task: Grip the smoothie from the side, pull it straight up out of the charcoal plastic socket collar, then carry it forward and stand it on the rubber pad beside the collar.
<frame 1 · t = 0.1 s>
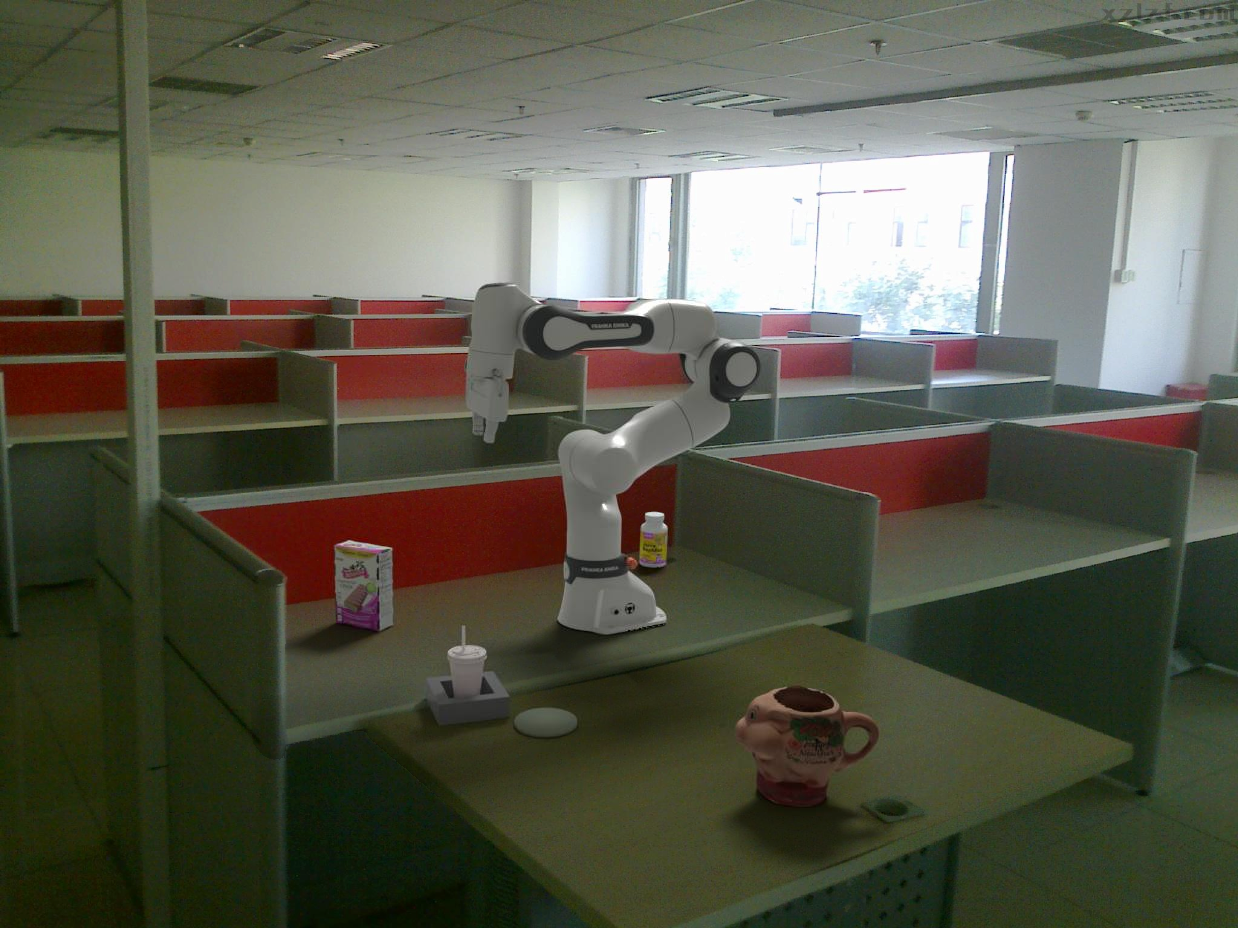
hand: (483, 438, 205), 39 cm above the table, tool pointing down, fingers open, 8 cm apart
cartoon character mug: (802, 792, 150), on the table
smoothie: (467, 708, 176), resting in socket collar
rubber pad: (545, 723, 170), on the table
socket collar: (467, 707, 176), on the table
candy bar box: (364, 625, 214), on the table
supplement bottle: (652, 565, 263), on the table
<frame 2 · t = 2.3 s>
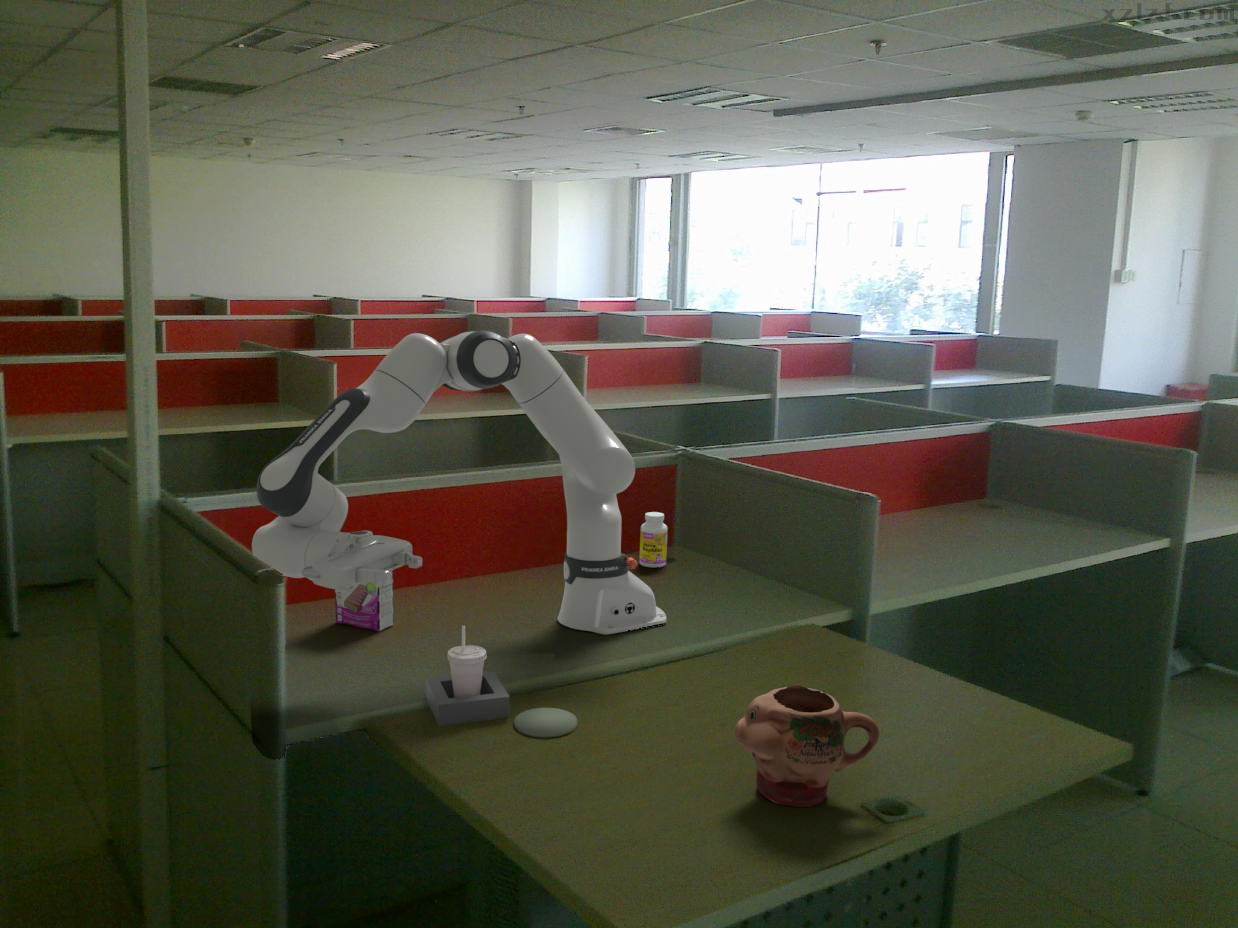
hand: (403, 569, 176), 22 cm above the table, tool horizontal, fingers open, 8 cm apart
nothing on the table moved.
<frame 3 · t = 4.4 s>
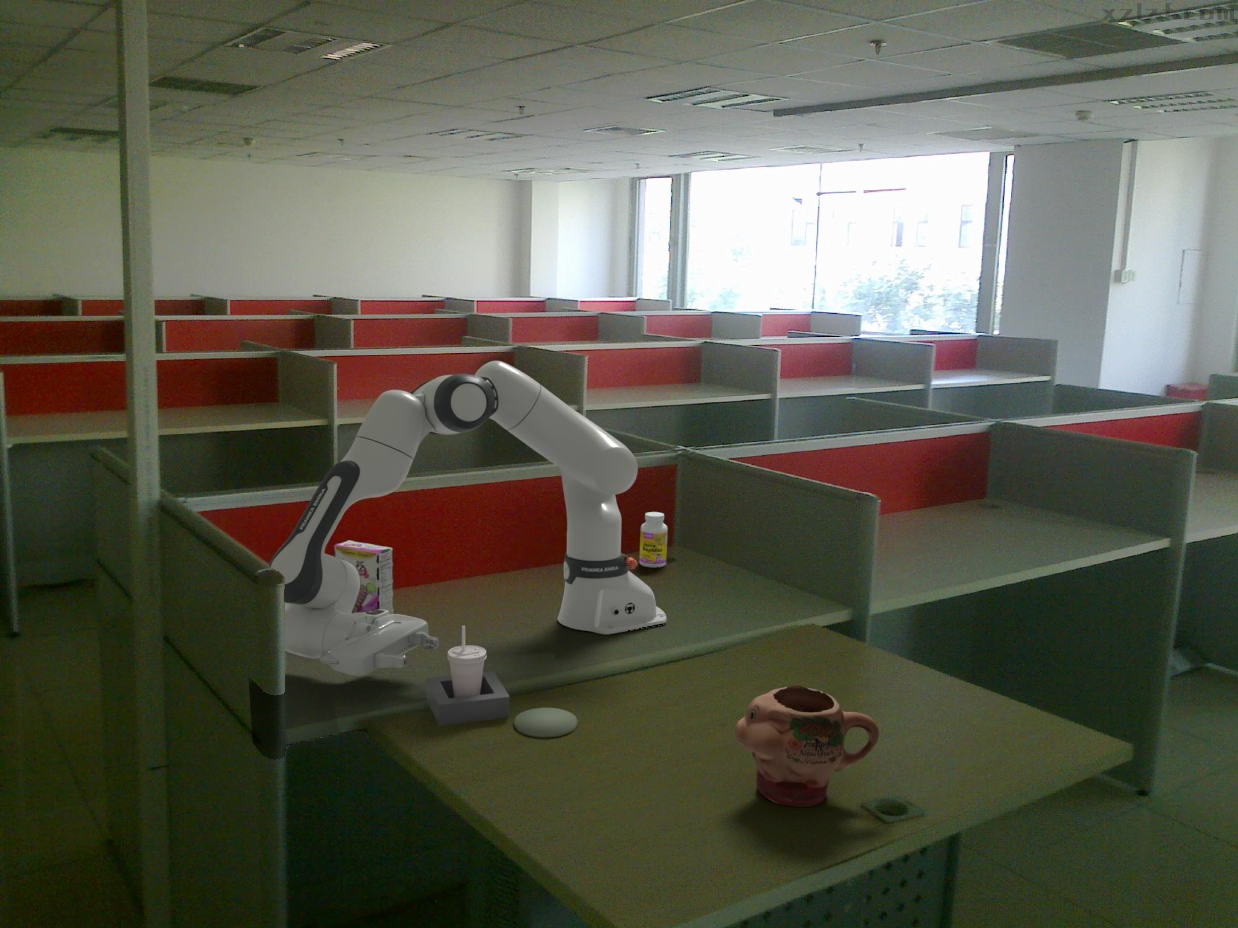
hand: (420, 652, 178), 8 cm above the table, tool horizontal, fingers open, 8 cm apart
nothing on the table moved.
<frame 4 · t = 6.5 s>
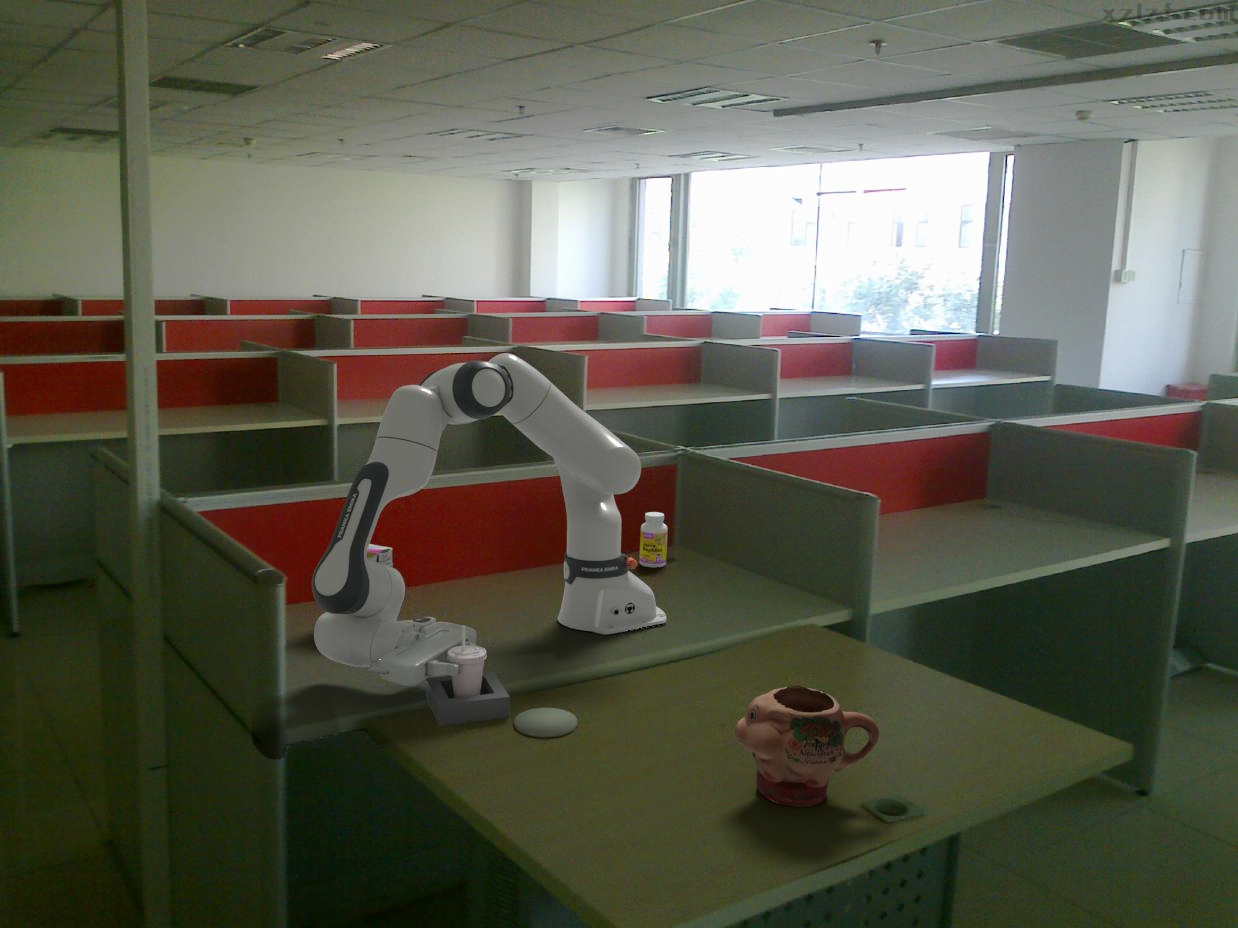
hand: (471, 661, 174), 8 cm above the table, tool horizontal, fingers closed on smoothie, 6 cm apart
smoothie: (467, 708, 176), resting in socket collar, touching gripper
everything else where it was.
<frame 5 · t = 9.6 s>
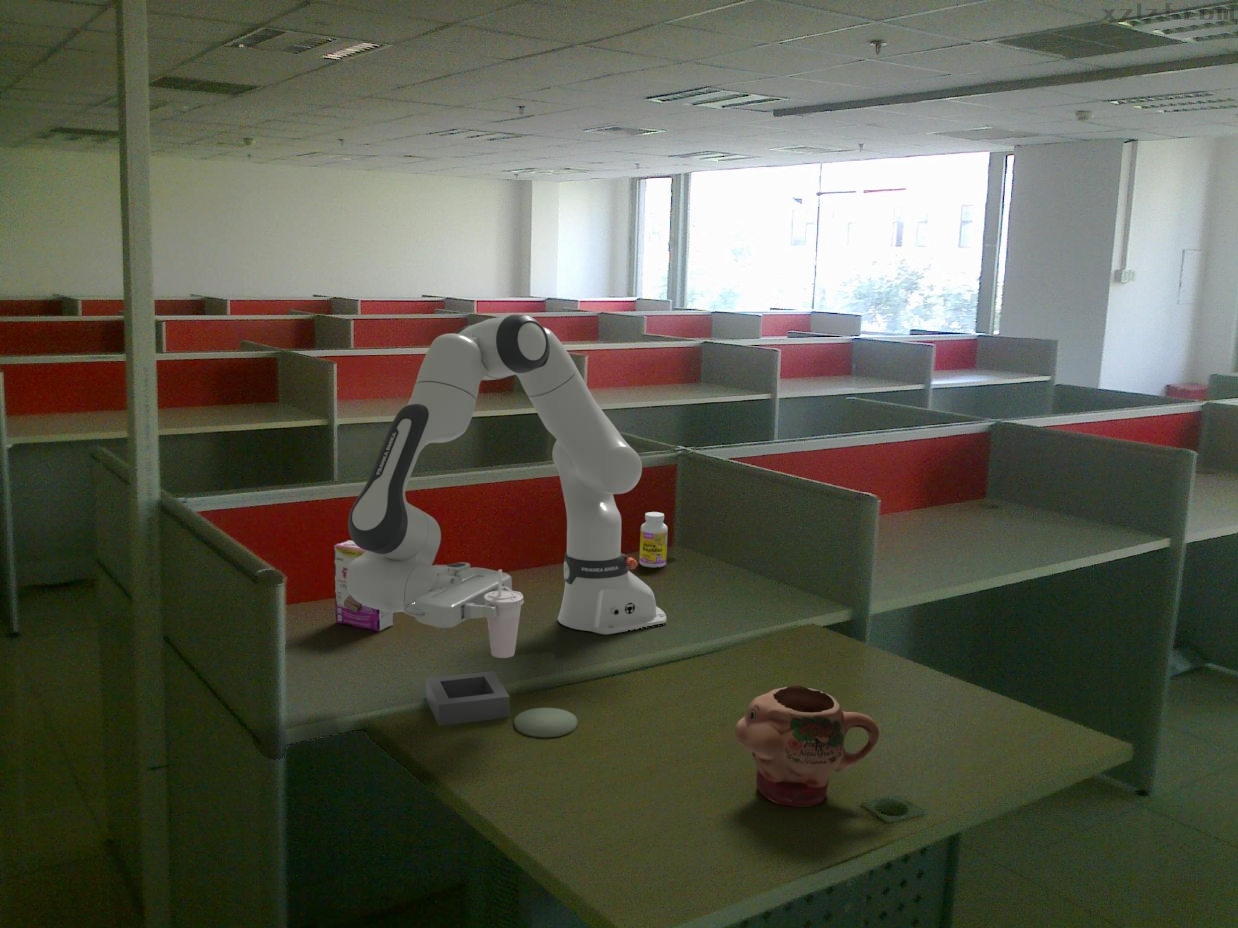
hand: (508, 605, 169), 19 cm above the table, tool horizontal, fingers closed on smoothie, 6 cm apart
smoothie: (503, 654, 171), point 10 cm above the table, touching gripper
everything else where it was.
when the fingers open (10 cm above the table, at t = 12.5 s): smoothie drops 1 cm, resting on rubber pad.
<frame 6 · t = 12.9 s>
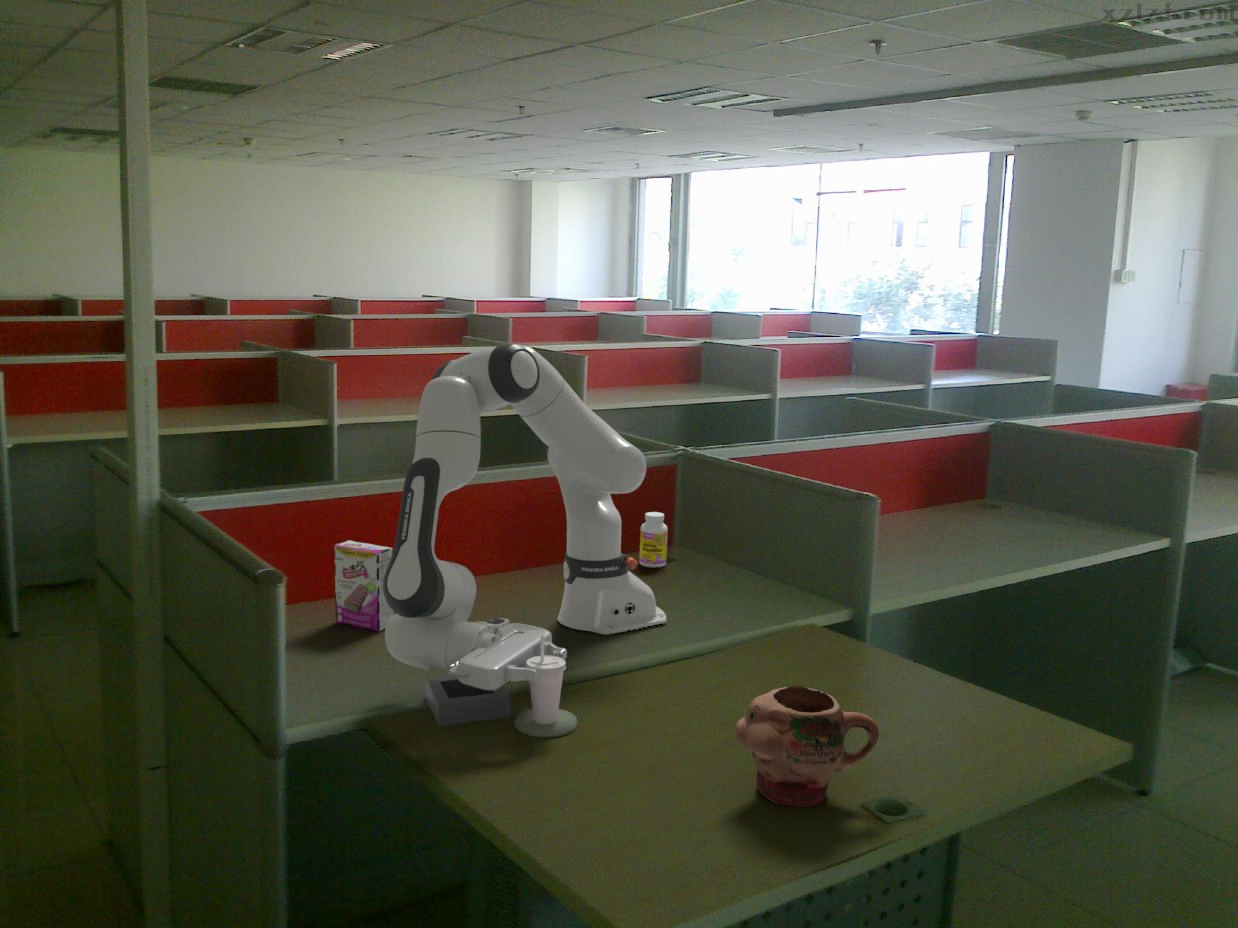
hand: (551, 665, 168), 10 cm above the table, tool horizontal, fingers open, 8 cm apart
smoothie: (545, 720, 170), resting on rubber pad
everything else where it was.
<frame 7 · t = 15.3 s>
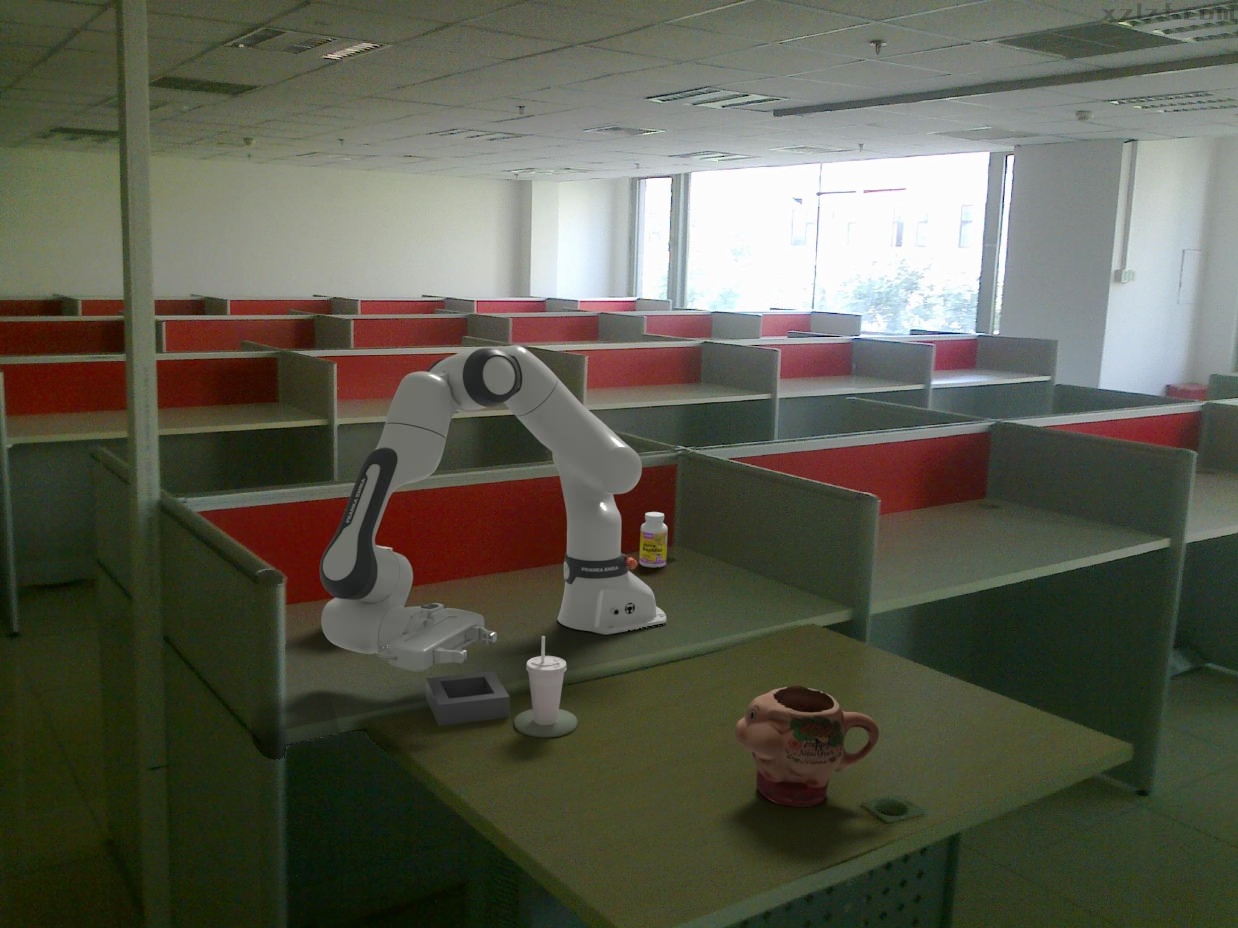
hand: (480, 647, 173), 11 cm above the table, tool horizontal, fingers open, 8 cm apart
nothing on the table moved.
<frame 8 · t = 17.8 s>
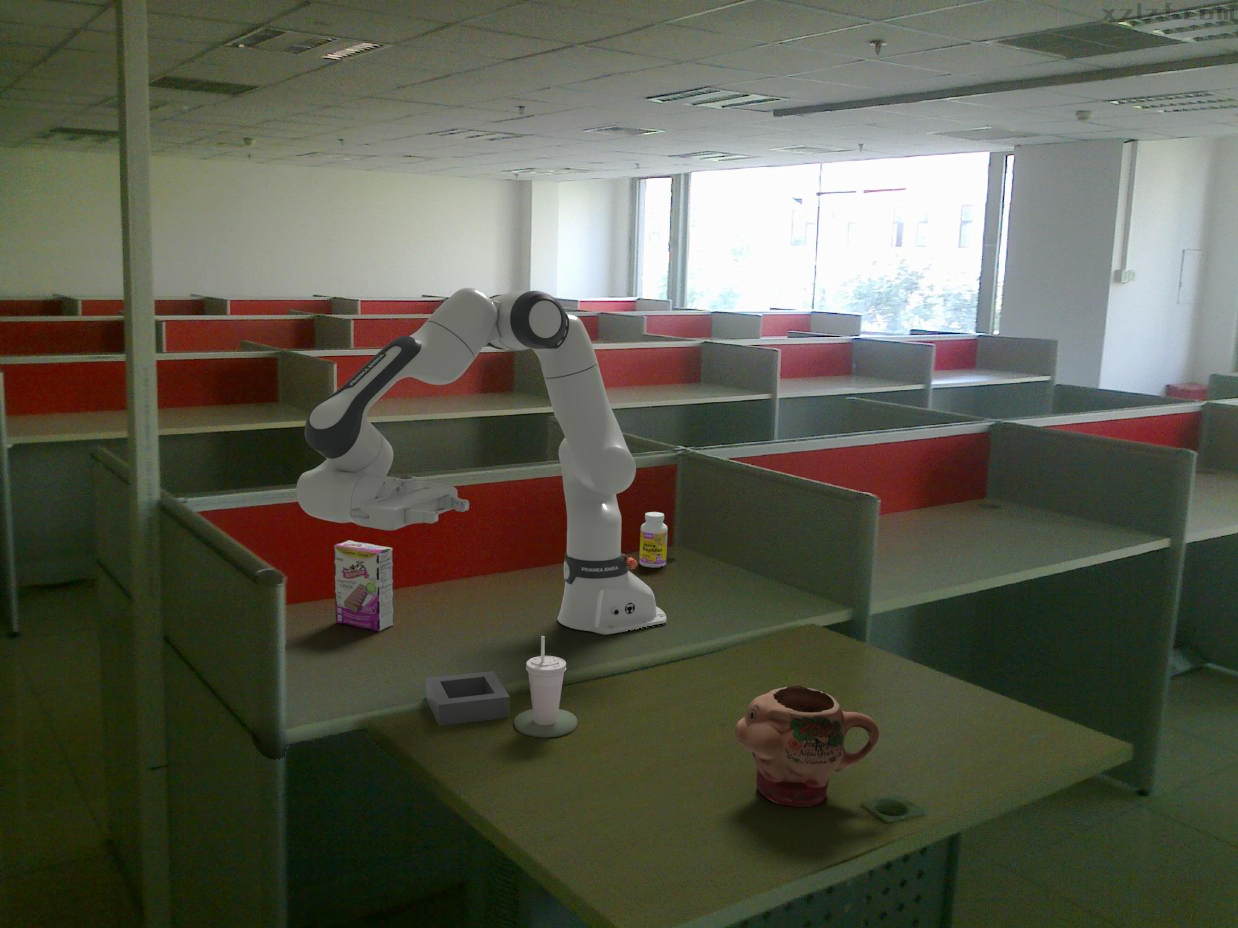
hand: (451, 511, 174), 32 cm above the table, tool horizontal, fingers open, 8 cm apart
nothing on the table moved.
at the end: smoothie 0.1 cm off-centre on the rubber pad, point 0.4 cm above the rubber pad's base; smoothie tilted 0°; the gripper is holding nothing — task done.
